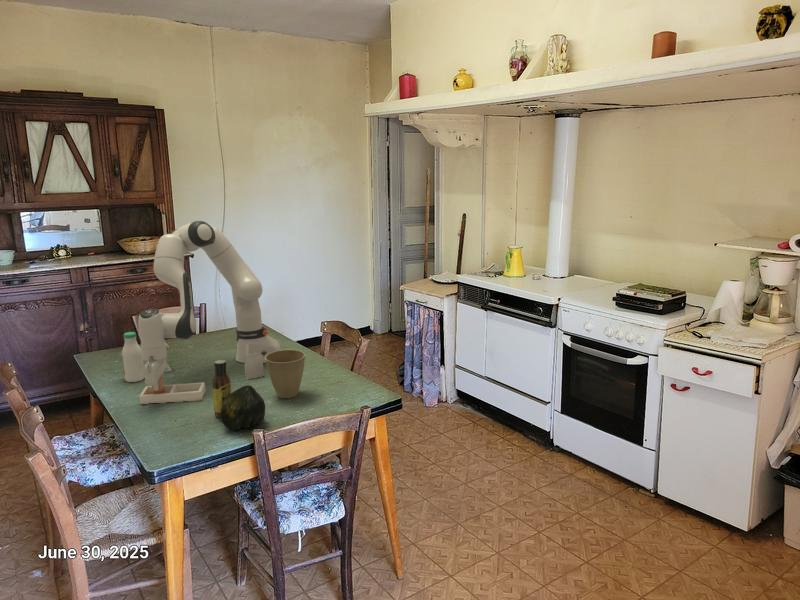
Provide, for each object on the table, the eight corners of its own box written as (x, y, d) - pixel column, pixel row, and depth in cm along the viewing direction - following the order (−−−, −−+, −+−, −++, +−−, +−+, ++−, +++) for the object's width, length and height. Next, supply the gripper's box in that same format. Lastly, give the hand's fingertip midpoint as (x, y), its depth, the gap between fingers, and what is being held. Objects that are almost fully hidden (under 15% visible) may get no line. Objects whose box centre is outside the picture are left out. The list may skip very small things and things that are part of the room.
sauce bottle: (225, 419, 213) (220, 365, 208) (211, 417, 215) (205, 363, 210) (236, 412, 218) (232, 359, 214) (222, 410, 221) (217, 357, 216)
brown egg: (165, 390, 234) (163, 375, 232) (162, 394, 230) (161, 379, 228) (154, 390, 233) (152, 376, 232) (151, 394, 229) (150, 379, 228)
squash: (206, 412, 206) (225, 385, 199) (239, 398, 218) (258, 373, 211) (229, 445, 202) (249, 419, 195) (261, 429, 215) (281, 405, 207)
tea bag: (263, 376, 254) (262, 353, 251) (247, 379, 250) (246, 356, 248) (260, 374, 257) (259, 351, 254) (245, 377, 253) (243, 354, 251)
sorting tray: (205, 390, 239) (204, 382, 238) (201, 400, 230) (200, 391, 229) (146, 394, 236) (145, 386, 235) (140, 405, 226) (139, 396, 225)
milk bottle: (149, 377, 255) (143, 331, 250) (134, 383, 248) (128, 336, 243) (135, 374, 258) (130, 329, 253) (120, 381, 251) (114, 334, 246)
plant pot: (262, 393, 236) (259, 353, 232) (298, 385, 243) (296, 347, 240) (275, 406, 224) (272, 365, 220) (313, 397, 231) (310, 357, 227)
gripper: (156, 361, 218) (160, 397, 221) (168, 344, 238) (172, 377, 241) (138, 362, 217) (142, 398, 220) (151, 345, 237) (155, 378, 240)
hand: (158, 387), depth 231 cm, fingers closed on brown egg, 4 cm apart
